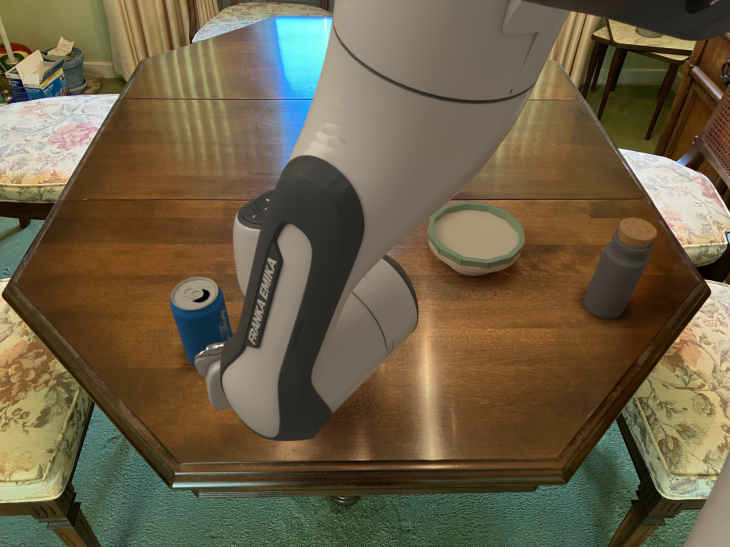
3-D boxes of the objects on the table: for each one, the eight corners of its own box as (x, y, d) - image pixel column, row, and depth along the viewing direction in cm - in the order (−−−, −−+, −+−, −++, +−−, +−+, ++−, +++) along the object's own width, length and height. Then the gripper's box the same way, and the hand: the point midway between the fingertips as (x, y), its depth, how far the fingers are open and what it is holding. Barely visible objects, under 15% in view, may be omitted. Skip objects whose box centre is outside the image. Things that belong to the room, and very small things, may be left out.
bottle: (597, 285, 86) (630, 209, 76) (630, 307, 83) (670, 230, 73) (575, 302, 84) (606, 226, 73) (609, 325, 80) (647, 248, 70)
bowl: (535, 278, 87) (544, 248, 83) (450, 301, 83) (455, 272, 79) (487, 222, 97) (493, 193, 93) (410, 241, 94) (413, 212, 89)
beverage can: (221, 378, 73) (204, 317, 65) (178, 364, 74) (156, 304, 66) (244, 342, 77) (231, 281, 69) (203, 330, 79) (186, 269, 70)
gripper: (195, 375, 53) (219, 447, 63) (390, 321, 59) (385, 394, 68) (186, 328, 57) (210, 402, 67) (369, 282, 63) (367, 356, 72)
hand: (299, 398), depth 68 cm, fingers closed on lemon, 5 cm apart
